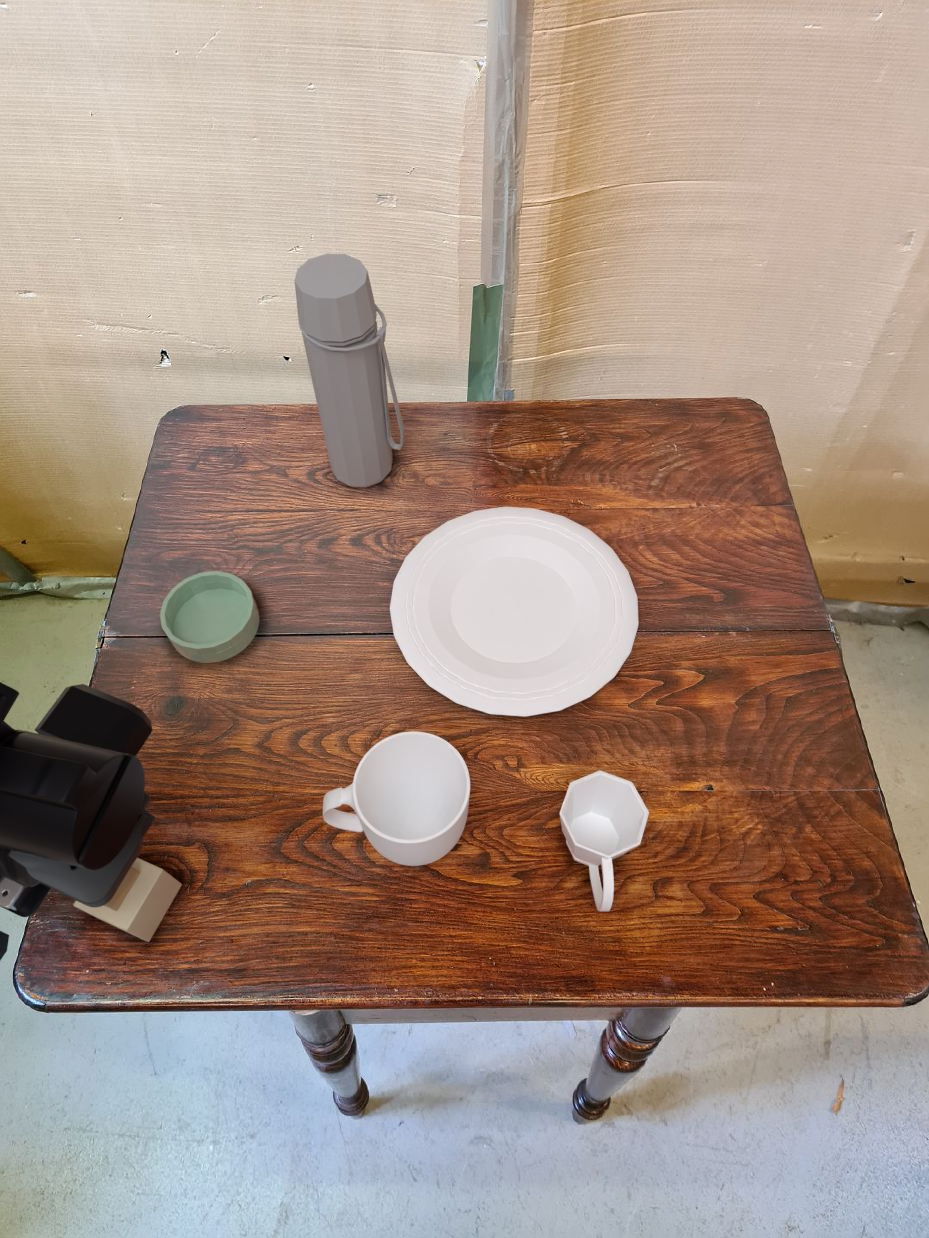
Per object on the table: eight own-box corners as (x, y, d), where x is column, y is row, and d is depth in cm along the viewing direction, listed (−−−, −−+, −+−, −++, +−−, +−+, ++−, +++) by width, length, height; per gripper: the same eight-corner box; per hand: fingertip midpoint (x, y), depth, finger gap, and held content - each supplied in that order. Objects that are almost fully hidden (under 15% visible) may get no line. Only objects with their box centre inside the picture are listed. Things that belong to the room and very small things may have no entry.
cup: (626, 802, 71) (643, 769, 64) (640, 920, 65) (660, 898, 59) (547, 803, 71) (556, 770, 64) (555, 920, 65) (565, 898, 59)
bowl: (152, 646, 79) (141, 630, 77) (201, 576, 84) (192, 559, 81) (230, 675, 78) (222, 661, 75) (275, 603, 82) (269, 586, 79)
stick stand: (97, 918, 66) (72, 905, 61) (133, 861, 68) (110, 845, 64) (149, 942, 65) (126, 930, 60) (182, 884, 67) (163, 869, 63)
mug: (467, 780, 72) (466, 726, 62) (473, 880, 67) (474, 839, 57) (337, 788, 72) (315, 735, 61) (335, 889, 67) (310, 849, 57)
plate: (578, 767, 72) (581, 759, 71) (344, 658, 78) (342, 649, 77) (670, 568, 84) (674, 557, 82) (460, 486, 90) (460, 475, 89)
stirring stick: (95, 901, 62) (39, 870, 54) (119, 862, 63) (68, 826, 55) (117, 911, 61) (63, 881, 53) (140, 872, 63) (92, 837, 55)
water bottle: (319, 485, 90) (274, 293, 69) (346, 437, 94) (310, 242, 73) (395, 504, 89) (372, 314, 68) (419, 454, 93) (404, 260, 71)
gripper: (-39, 1030, 37) (96, 1050, 50) (183, 693, 46) (247, 787, 59) (-219, 934, 39) (-45, 978, 52) (25, 631, 48) (121, 735, 61)
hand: (80, 863), depth 56 cm, fingers closed on stirring stick, 1 cm apart
